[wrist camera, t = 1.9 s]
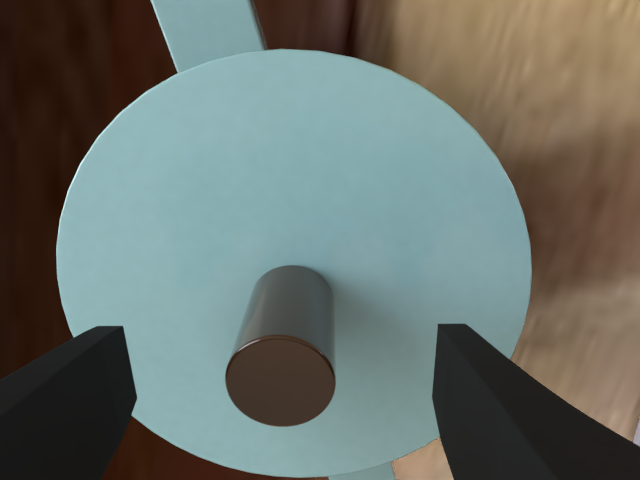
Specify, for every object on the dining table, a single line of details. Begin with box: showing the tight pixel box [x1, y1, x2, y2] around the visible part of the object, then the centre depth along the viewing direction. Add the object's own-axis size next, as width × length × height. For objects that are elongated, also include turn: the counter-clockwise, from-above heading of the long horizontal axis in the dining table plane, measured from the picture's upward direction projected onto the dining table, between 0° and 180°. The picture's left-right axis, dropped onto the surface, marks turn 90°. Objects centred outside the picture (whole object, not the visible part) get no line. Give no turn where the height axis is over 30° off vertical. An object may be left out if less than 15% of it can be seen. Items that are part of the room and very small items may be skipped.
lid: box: [56, 49, 532, 478], centre depth 12 cm, size 13×13×5 cm
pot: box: [151, 0, 396, 480], centre depth 16 cm, size 12×18×5 cm
